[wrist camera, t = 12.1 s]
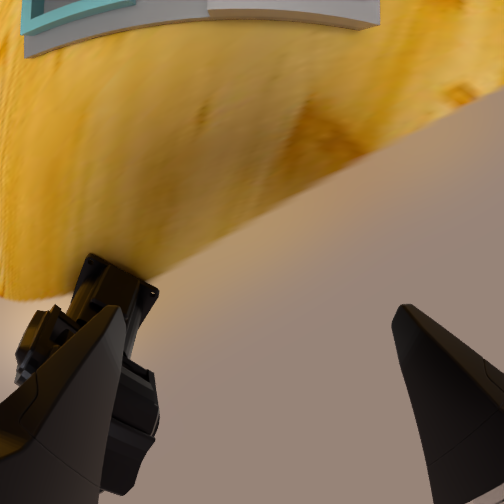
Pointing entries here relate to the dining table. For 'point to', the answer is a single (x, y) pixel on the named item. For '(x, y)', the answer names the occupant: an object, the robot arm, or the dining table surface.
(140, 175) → the dining table surface
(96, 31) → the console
